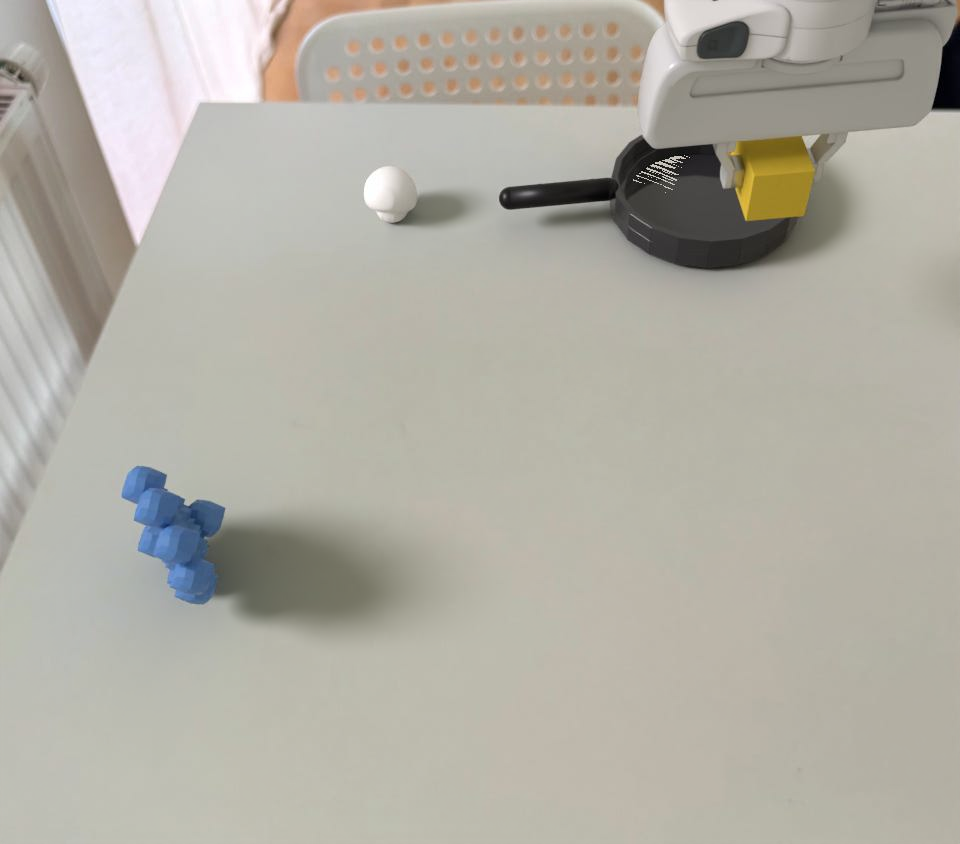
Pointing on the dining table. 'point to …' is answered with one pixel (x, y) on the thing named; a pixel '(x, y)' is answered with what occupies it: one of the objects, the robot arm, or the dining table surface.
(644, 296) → the dining table surface
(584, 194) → the pan handle
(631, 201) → the pan
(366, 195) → the mushroom
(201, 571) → the grapes
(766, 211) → the yellow block
